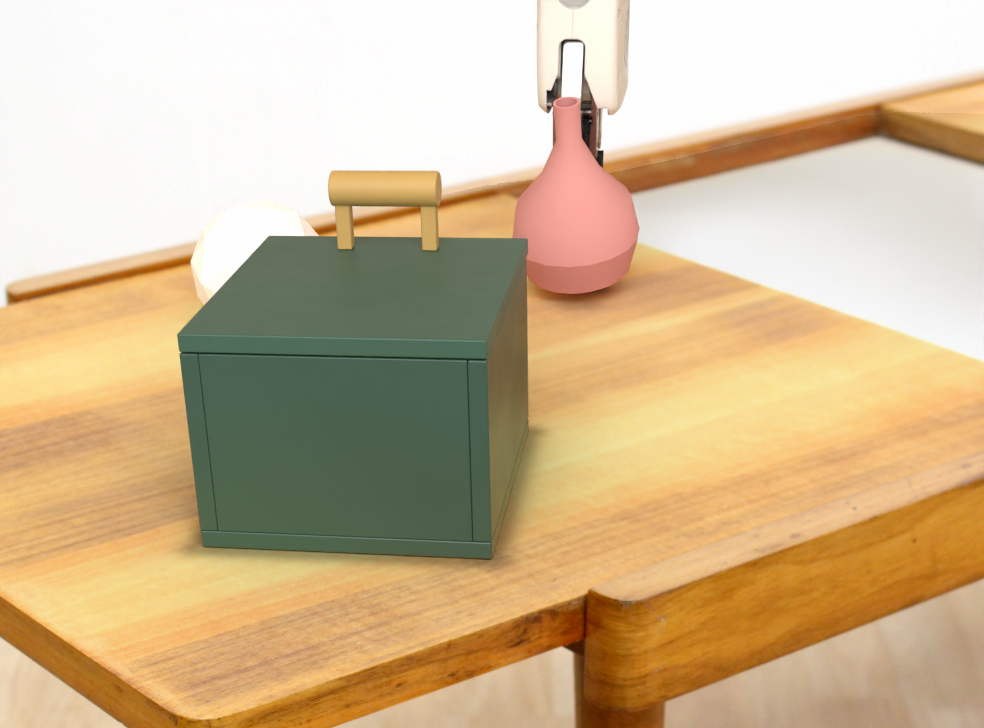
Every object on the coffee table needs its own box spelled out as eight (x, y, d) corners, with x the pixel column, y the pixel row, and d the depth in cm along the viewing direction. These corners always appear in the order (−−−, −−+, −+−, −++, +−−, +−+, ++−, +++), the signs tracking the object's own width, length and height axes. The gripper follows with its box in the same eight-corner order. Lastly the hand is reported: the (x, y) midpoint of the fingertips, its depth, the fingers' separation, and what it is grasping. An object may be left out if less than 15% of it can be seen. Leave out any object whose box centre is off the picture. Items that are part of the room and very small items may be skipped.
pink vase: (635, 317, 93) (627, 130, 85) (509, 317, 94) (490, 134, 87) (645, 251, 99) (638, 71, 91) (527, 253, 100) (510, 76, 93)
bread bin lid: (269, 251, 75) (261, 160, 73) (528, 254, 73) (527, 160, 71) (178, 352, 63) (165, 246, 61) (487, 359, 61) (484, 250, 59)
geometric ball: (271, 385, 91) (223, 308, 84) (197, 311, 95) (145, 230, 88) (369, 304, 92) (329, 220, 85) (291, 233, 96) (247, 148, 89)
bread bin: (281, 424, 79) (266, 255, 75) (528, 432, 77) (526, 259, 73) (201, 547, 67) (178, 353, 63) (492, 559, 65) (487, 361, 61)
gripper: (640, -78, 83) (626, 253, 92) (655, -106, 96) (641, 186, 105) (502, -79, 85) (500, 248, 93) (535, -107, 98) (531, 182, 106)
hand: (575, 214), depth 99 cm, fingers closed
